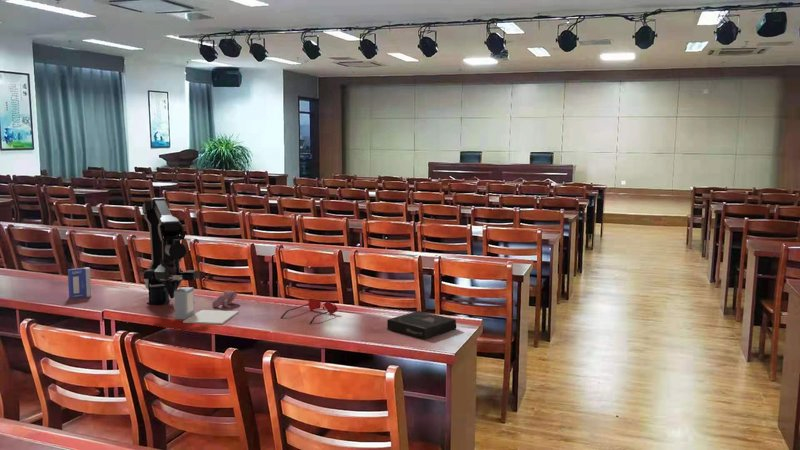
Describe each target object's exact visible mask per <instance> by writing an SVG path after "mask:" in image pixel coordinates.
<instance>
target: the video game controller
mask: <svg viewBox="0 0 800 450" xmlns="http://www.w3.org/2000/svg"><path fill="white" fill-rule="evenodd" d="M237 296H238V293H237V292H236V291H235V290H225V291H224V292H223V293H221V294H220V295H219V296H218V297H217V298H216V299H215V300H214V301H213V302H212V307H213V308H219V307H220V306H222V307H226V306H227V305H228V306H229V305H231V304H232V302H233V301H234V300H235V299H236V297H237Z"/></svg>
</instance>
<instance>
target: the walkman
mask: <svg viewBox="0 0 800 450" xmlns="http://www.w3.org/2000/svg"><path fill="white" fill-rule="evenodd" d="M91 275H92V273H91V267H89V266H88V267H78V268H70V269H69V268H68V269H67V279H68V280H67V281H68V283H67V285H68V298H69V299H71V300H75V298H76V299H81V298H82V297H83V298H89V297H90V298H91V297H92V281H91V278H92V277H91Z"/></svg>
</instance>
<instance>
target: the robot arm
mask: <svg viewBox="0 0 800 450" xmlns="http://www.w3.org/2000/svg"><path fill="white" fill-rule="evenodd" d="M141 209H142V210H141V211H142V214H143V215H144V220H145V221H146V222H147V223H148V225H149V239H150V255H151V256H150V257H151V263H150V265H149V267H148V268H147V270H145V271H144V272H143V273H142V278H143V280H145V281H144V283H145V284H144V285H145V288H146V290H148V301H147V302H146V304H148V305H165V304H166V303H168V302H170V300H171V299H175V298H174V291H176V290H178V289H179V286H180V285H181V282H182V281H195V280H197V279H200V277H201V276H200V272H199V270H198V269H197V270H196V269H194V270H193V269H188V270H187V269H186V270H185V271H182V268H181V267H180V266H181V265H180V264H181V263H180V261H181V260H182V259H183V258H184V257H185V255H186V254H187V248H186V246H185V245H184V244H183V243H181V241H185V238H186V233H185V229H184V227H183V224H182V223H181V221H180V220H179V219H178V218H177V217H176V216H173V215H172V213H171V211H170V208H169V207H168V201H167V199H166V198H165V197H154V198H153V197H152V198H151V199H150V200H148V201H145V202H143V204H142V207H141Z"/></svg>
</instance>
